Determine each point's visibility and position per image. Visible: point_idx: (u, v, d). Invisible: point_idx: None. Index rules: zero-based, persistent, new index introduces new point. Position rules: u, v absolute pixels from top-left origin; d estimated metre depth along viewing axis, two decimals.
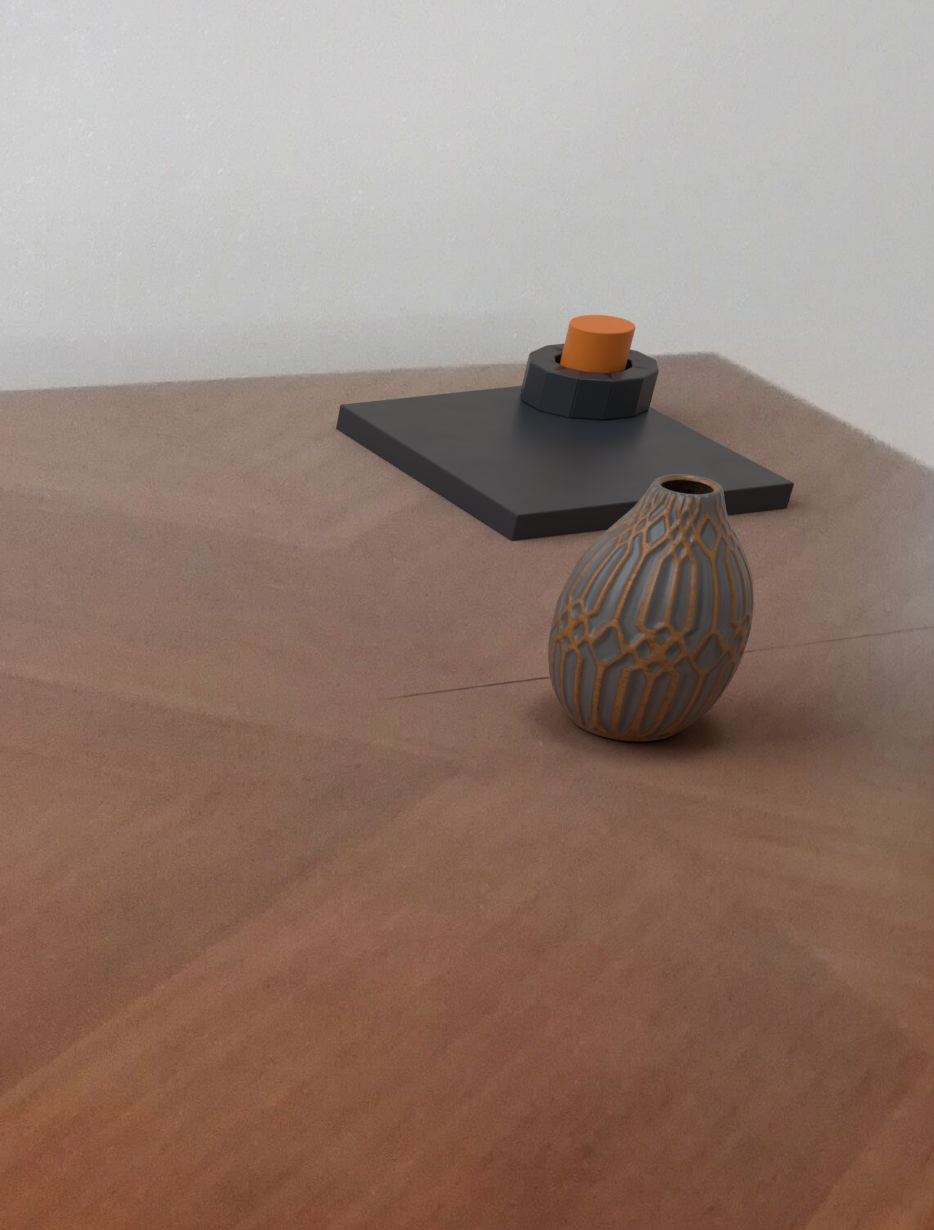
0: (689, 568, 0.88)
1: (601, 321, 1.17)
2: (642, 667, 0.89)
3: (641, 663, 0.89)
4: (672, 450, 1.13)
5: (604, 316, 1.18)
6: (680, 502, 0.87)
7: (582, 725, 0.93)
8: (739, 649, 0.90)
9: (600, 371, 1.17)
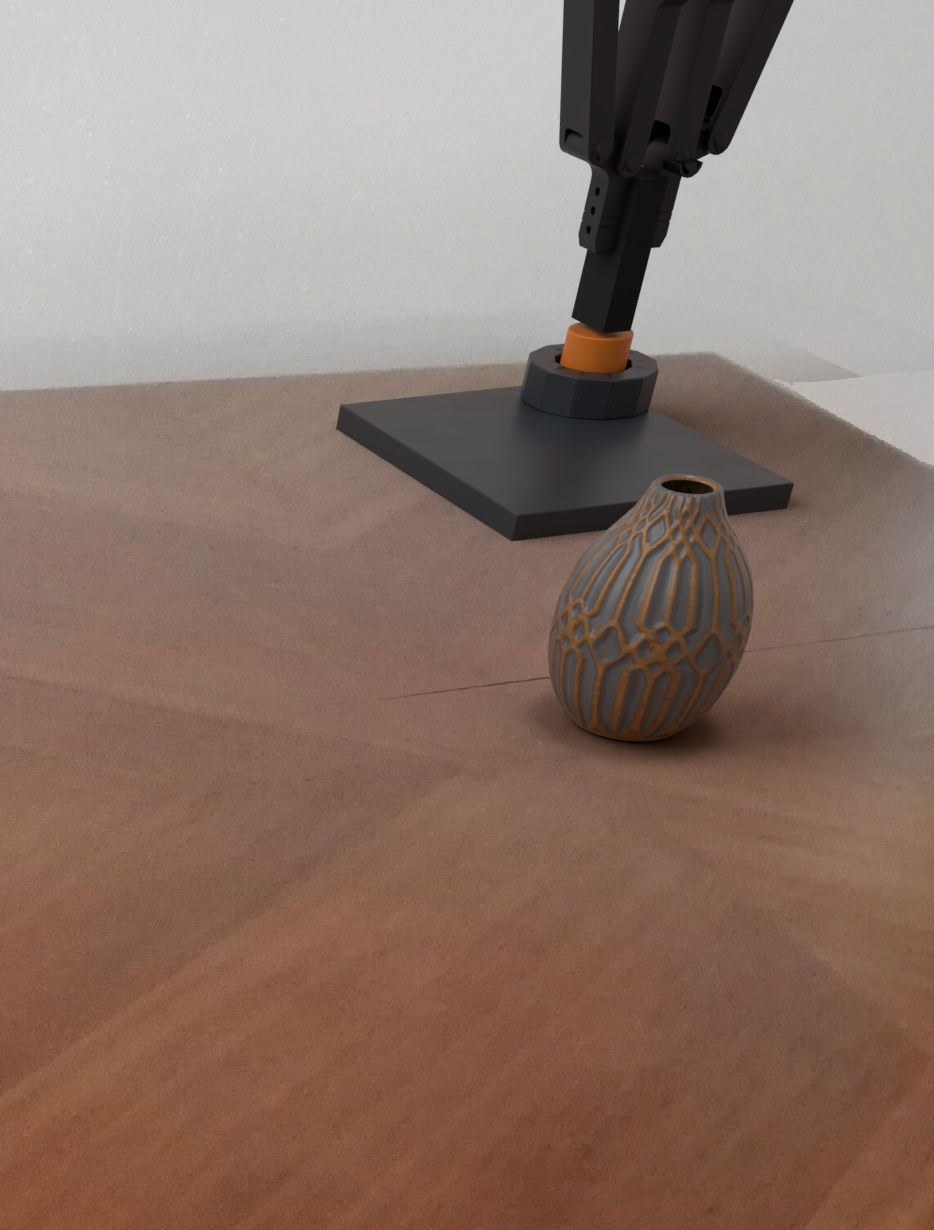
0: (689, 568, 0.88)
1: None
2: (642, 667, 0.89)
3: (641, 663, 0.89)
4: (672, 450, 1.13)
5: None
6: (680, 502, 0.87)
7: (582, 725, 0.93)
8: (739, 649, 0.90)
9: None
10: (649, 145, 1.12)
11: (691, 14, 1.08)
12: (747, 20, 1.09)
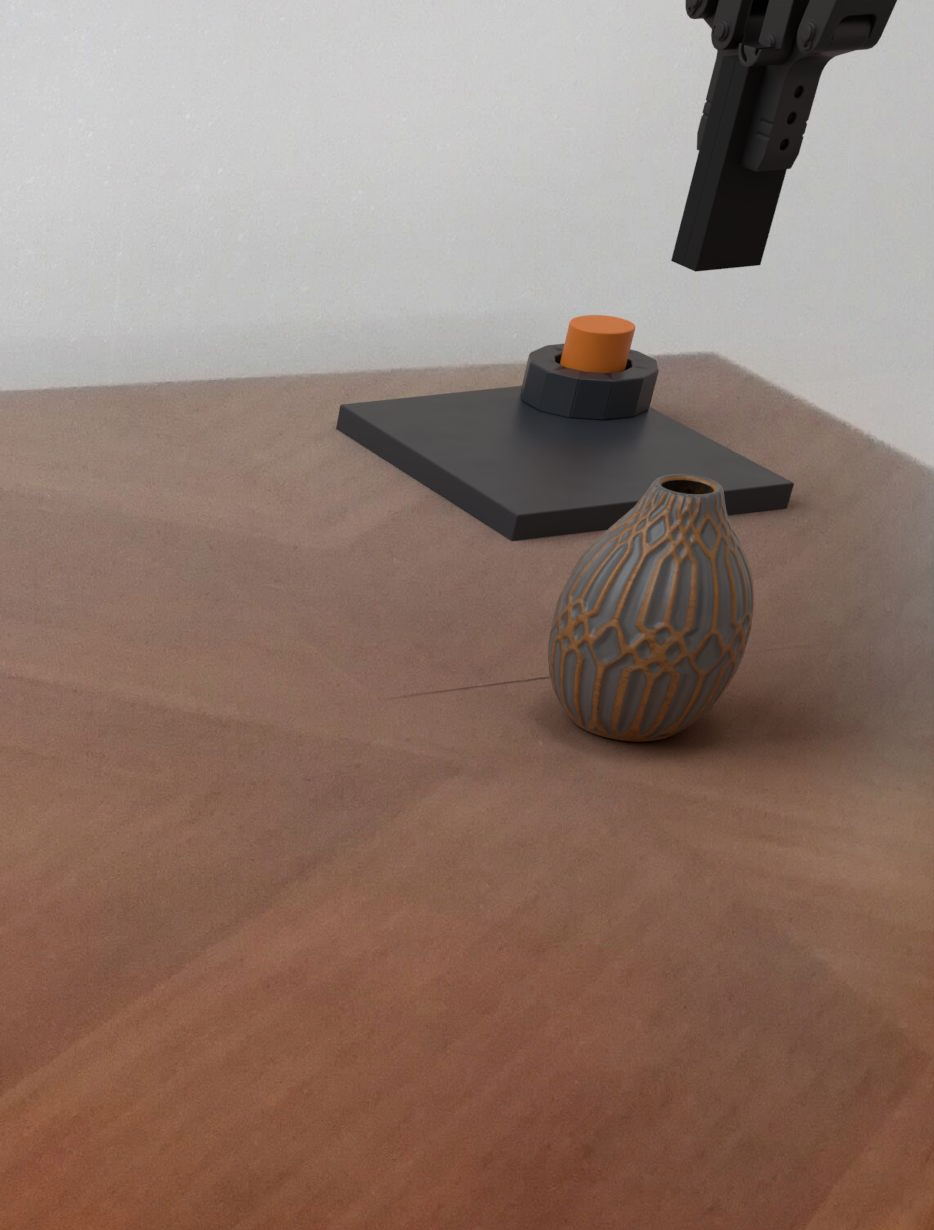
0: (689, 568, 0.88)
1: (601, 321, 1.17)
2: (642, 667, 0.89)
3: (641, 663, 0.89)
4: (672, 450, 1.13)
5: (604, 316, 1.18)
6: (680, 502, 0.87)
7: (582, 725, 0.93)
8: (739, 649, 0.90)
9: (600, 371, 1.17)
10: None
11: None
12: None
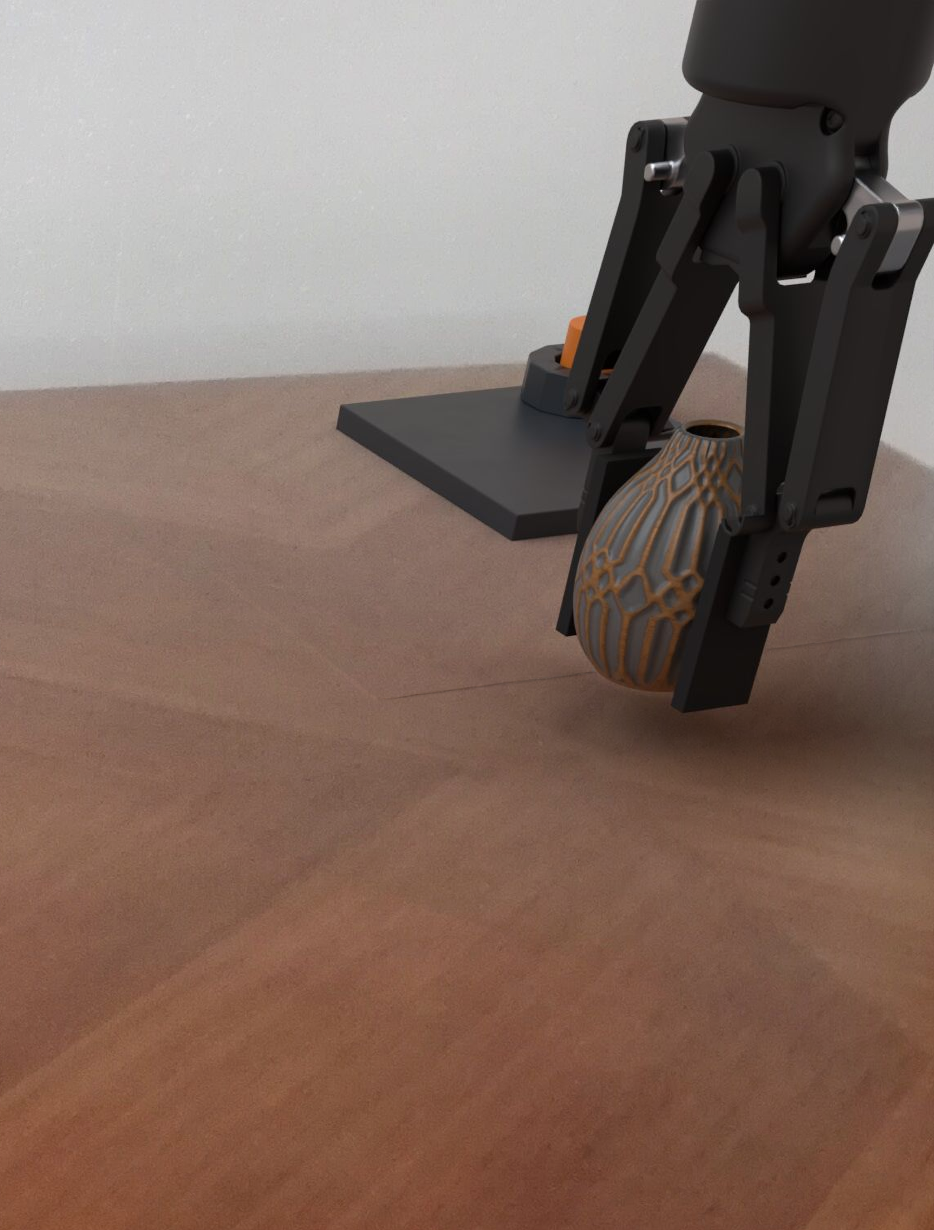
0: (715, 514, 0.86)
1: None
2: (669, 616, 0.88)
3: (668, 612, 0.88)
4: None
5: None
6: (705, 446, 0.86)
7: (608, 677, 0.92)
8: None
9: None
10: None
11: None
12: None
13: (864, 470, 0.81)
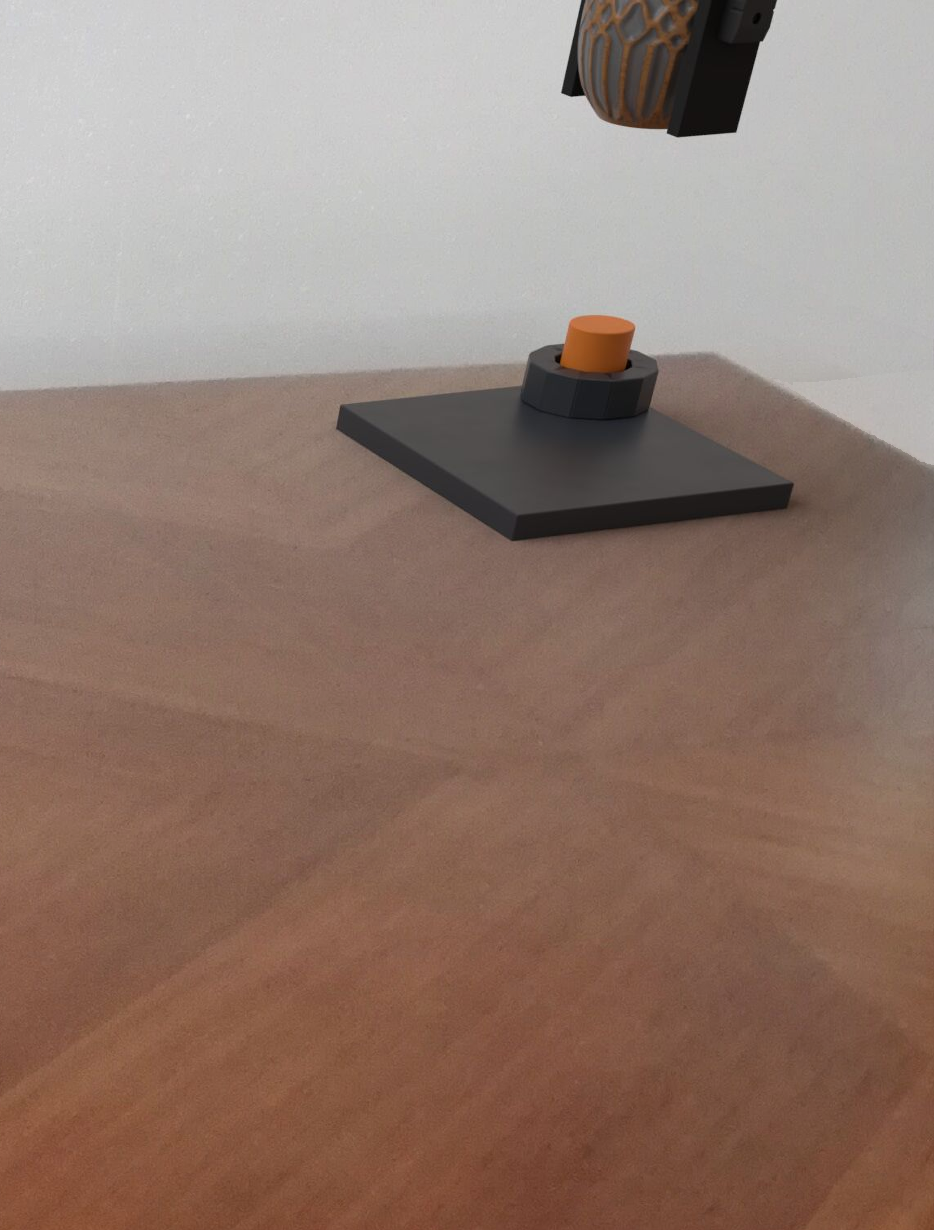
0: None
1: (601, 321, 1.17)
2: (666, 41, 0.97)
3: (665, 38, 0.97)
4: (672, 450, 1.13)
5: (604, 316, 1.18)
6: None
7: (609, 117, 1.00)
8: None
9: (600, 371, 1.17)
10: None
11: None
12: None
13: None
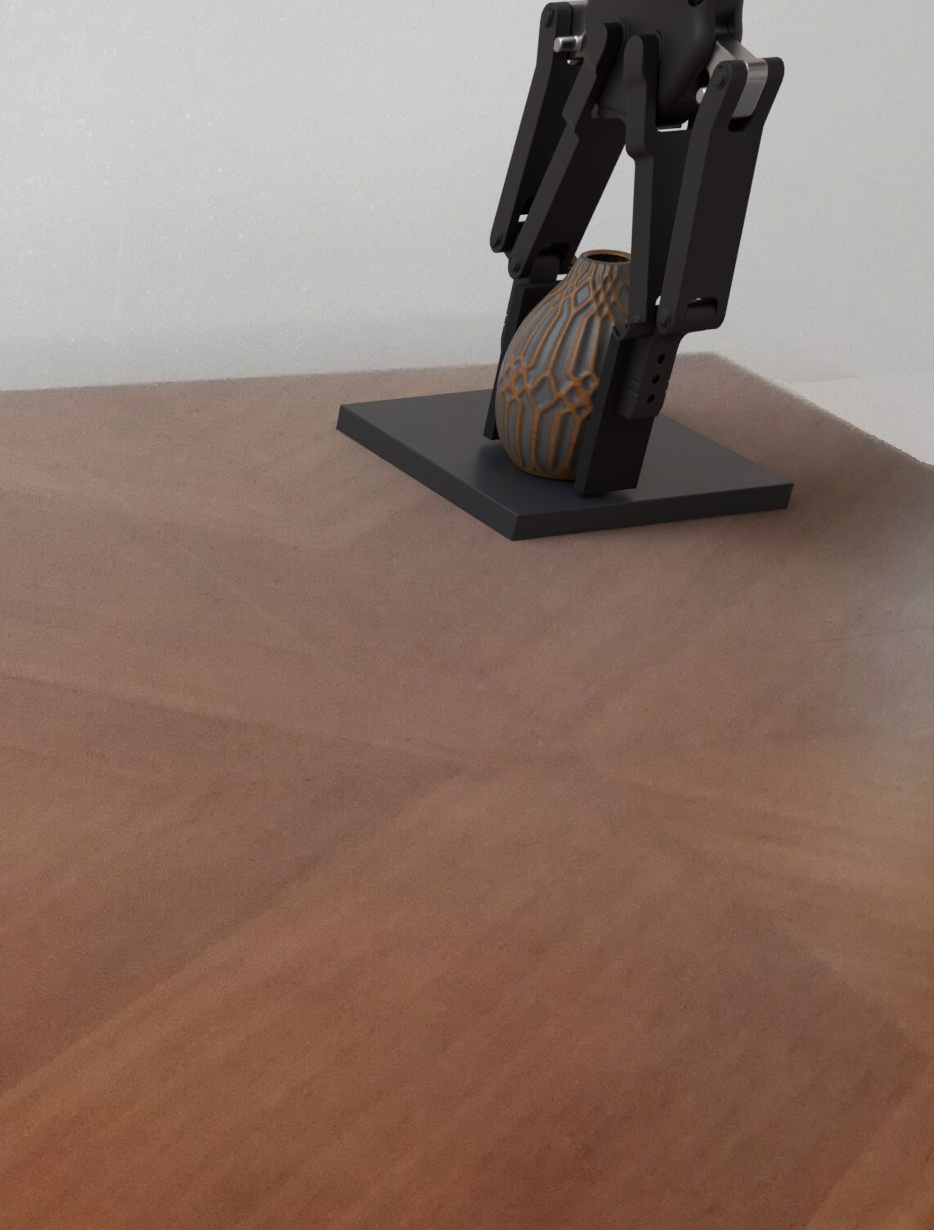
0: (609, 325, 1.06)
1: None
2: (571, 411, 1.07)
3: (571, 407, 1.07)
4: (672, 450, 1.13)
5: None
6: (601, 269, 1.05)
7: (523, 467, 1.11)
8: None
9: None
10: None
11: None
12: None
13: (724, 283, 1.01)
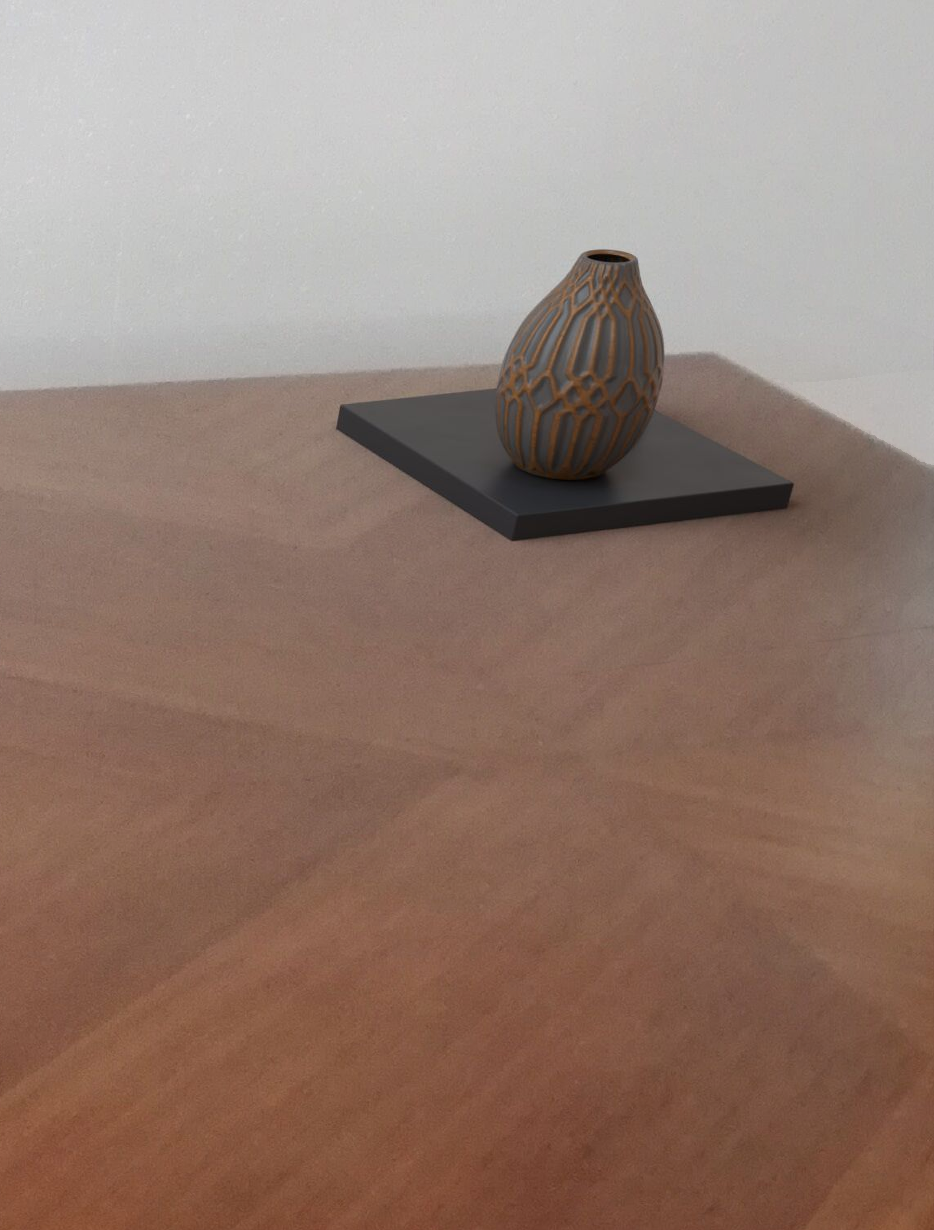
0: (609, 325, 1.06)
1: None
2: (571, 411, 1.07)
3: (571, 407, 1.07)
4: (672, 450, 1.13)
5: None
6: (602, 269, 1.05)
7: (523, 467, 1.11)
8: (652, 396, 1.08)
9: None
10: None
11: None
12: None
13: None
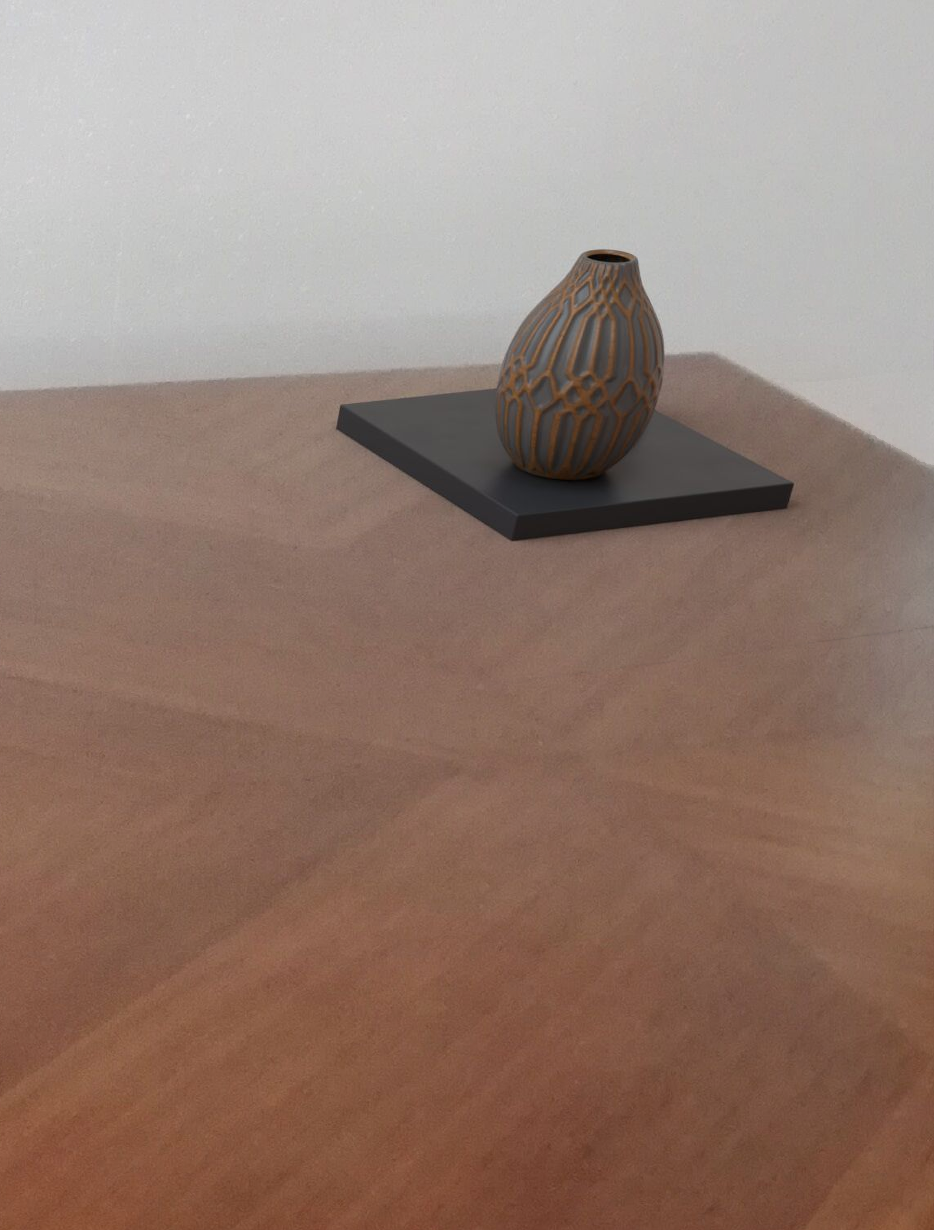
0: (609, 325, 1.06)
1: None
2: (571, 411, 1.07)
3: (571, 407, 1.07)
4: (672, 450, 1.13)
5: None
6: (602, 269, 1.05)
7: (523, 467, 1.11)
8: (652, 396, 1.08)
9: None
10: None
11: None
12: None
13: None
